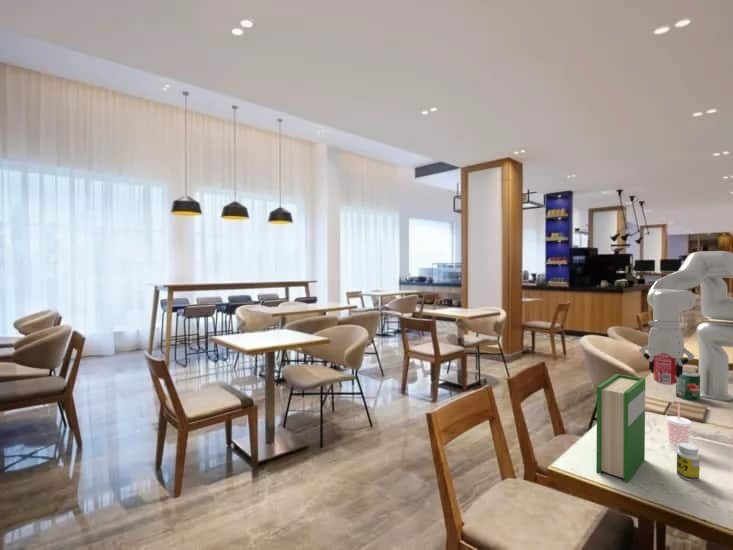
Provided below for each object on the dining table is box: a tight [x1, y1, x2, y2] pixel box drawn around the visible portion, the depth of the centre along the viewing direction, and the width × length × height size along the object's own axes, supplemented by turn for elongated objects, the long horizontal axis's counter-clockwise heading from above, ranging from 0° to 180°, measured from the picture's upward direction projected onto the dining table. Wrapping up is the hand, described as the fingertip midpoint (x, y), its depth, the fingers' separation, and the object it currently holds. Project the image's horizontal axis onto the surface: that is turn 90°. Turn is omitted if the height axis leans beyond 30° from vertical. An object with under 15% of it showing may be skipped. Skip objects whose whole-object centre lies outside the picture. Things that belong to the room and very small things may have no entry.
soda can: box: [652, 351, 678, 386], centre depth 143 cm, size 7×7×12 cm
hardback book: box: [595, 373, 646, 484], centre depth 112 cm, size 18×7×24 cm, turn 133°
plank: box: [666, 400, 708, 424], centre depth 149 cm, size 18×10×2 cm, turn 136°
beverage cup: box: [666, 404, 693, 451], centre depth 122 cm, size 6×6×14 cm
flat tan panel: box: [645, 395, 671, 415], centre depth 157 cm, size 18×10×2 cm, turn 136°
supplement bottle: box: [676, 443, 701, 482], centre depth 106 cm, size 5×5×8 cm
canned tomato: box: [675, 370, 701, 402], centre depth 165 cm, size 8×8×11 cm
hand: (665, 373), depth 143 cm, fingers closed on soda can, 6 cm apart
